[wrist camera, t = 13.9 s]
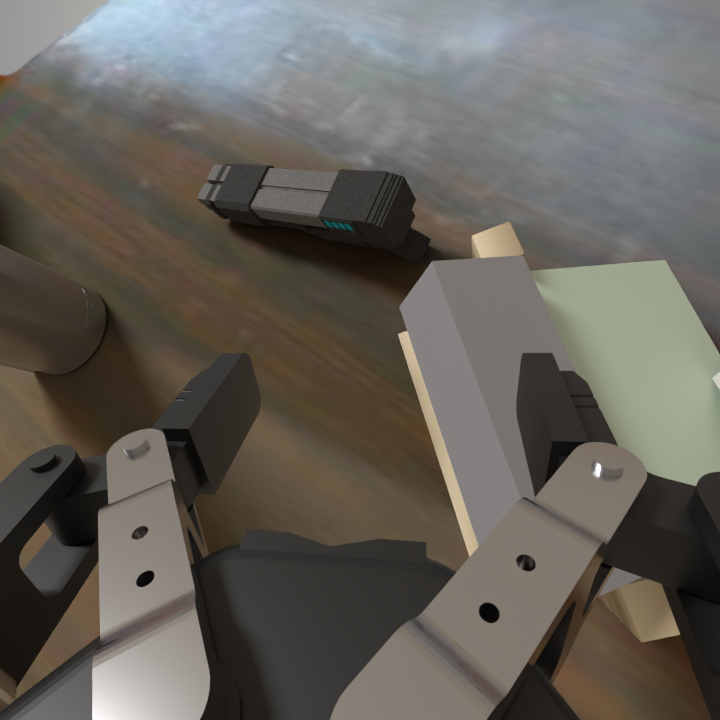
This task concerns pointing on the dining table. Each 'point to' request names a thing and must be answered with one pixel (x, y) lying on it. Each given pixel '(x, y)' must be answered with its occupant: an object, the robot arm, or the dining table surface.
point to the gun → (320, 204)
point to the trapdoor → (562, 368)
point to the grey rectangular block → (717, 380)
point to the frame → (628, 603)
